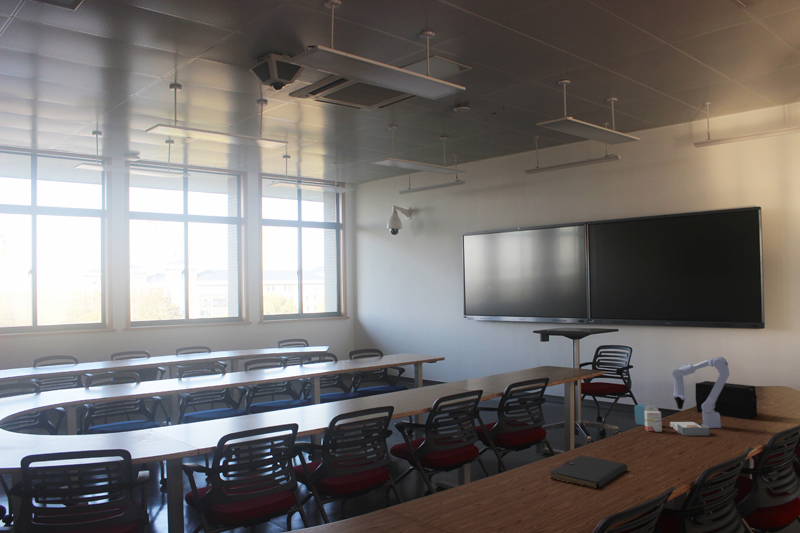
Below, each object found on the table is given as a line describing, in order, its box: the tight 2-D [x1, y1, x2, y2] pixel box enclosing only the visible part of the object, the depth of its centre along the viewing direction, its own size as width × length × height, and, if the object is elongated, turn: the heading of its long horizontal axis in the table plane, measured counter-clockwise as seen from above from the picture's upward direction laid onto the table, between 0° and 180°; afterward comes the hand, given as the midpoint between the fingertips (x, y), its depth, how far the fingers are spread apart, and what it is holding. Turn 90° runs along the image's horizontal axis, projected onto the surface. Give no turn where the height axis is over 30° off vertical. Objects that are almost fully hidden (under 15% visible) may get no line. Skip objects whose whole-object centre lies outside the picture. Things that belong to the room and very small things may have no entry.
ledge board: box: [669, 421, 703, 432], centre depth 345 cm, size 14×14×2 cm
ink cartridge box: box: [644, 405, 663, 433], centre depth 343 cm, size 9×5×15 cm, turn 84°
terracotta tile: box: [687, 425, 699, 428], centre depth 333 cm, size 5×5×2 cm
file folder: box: [549, 454, 629, 489], centre depth 267 cm, size 33×4×24 cm
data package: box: [633, 404, 654, 426], centre depth 359 cm, size 12×4×12 cm, turn 39°
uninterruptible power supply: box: [695, 380, 758, 420], centre depth 379 cm, size 16×34×20 cm, turn 35°
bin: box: [677, 423, 711, 437], centre depth 333 cm, size 15×9×4 cm, turn 82°
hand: (680, 408), depth 358 cm, fingers closed
